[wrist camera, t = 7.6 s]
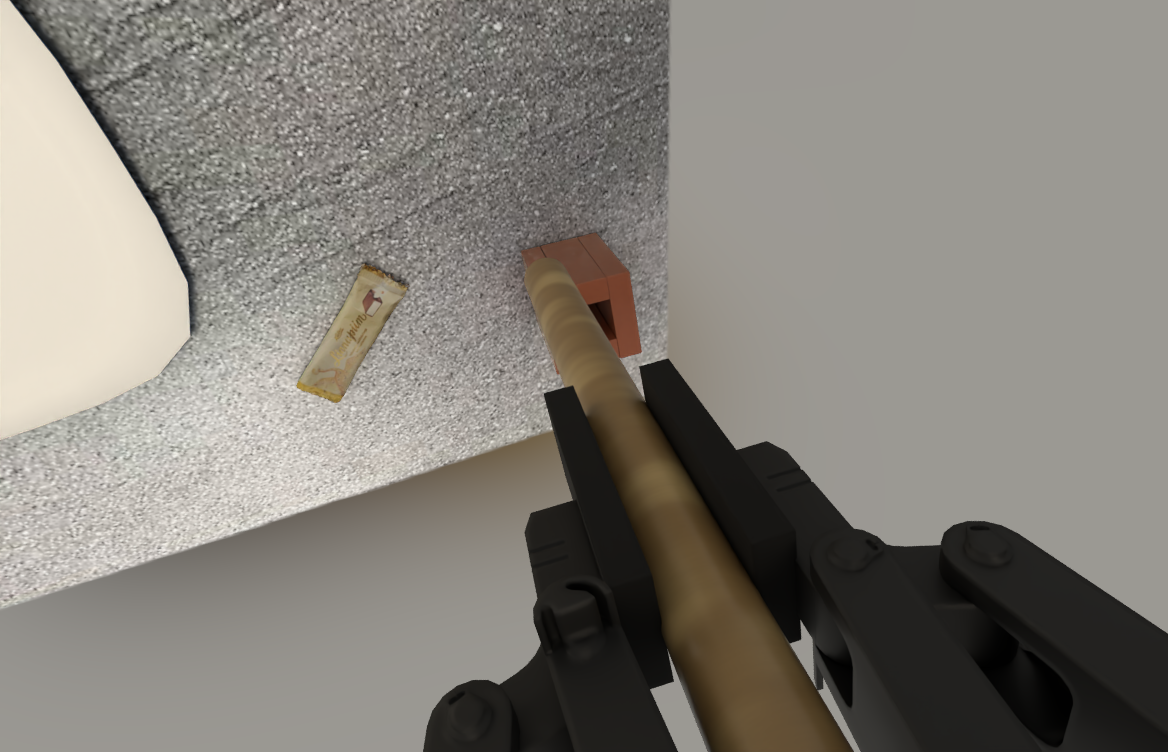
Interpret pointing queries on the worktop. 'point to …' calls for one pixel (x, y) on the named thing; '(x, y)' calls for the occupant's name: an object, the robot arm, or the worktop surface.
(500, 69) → the worktop surface
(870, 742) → the robot arm
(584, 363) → the stick
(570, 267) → the holder
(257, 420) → the worktop surface
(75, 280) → the plate
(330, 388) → the snack bar
